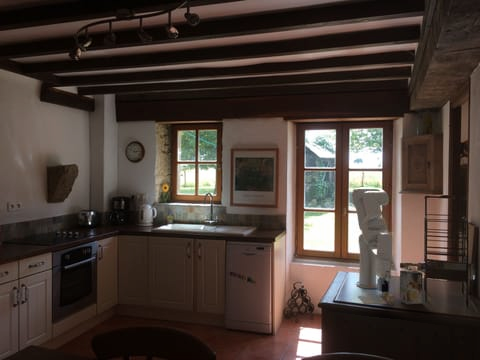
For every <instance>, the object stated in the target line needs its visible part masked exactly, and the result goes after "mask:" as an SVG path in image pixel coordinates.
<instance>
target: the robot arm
mask: <svg viewBox="0 0 480 360" xmlns="http://www.w3.org/2000/svg"><path fill="white" fill-rule="evenodd" d="M351 198H352V200H351V201H352V203H353V206H354V208H355V211H356V214H357V215H356V217H357V221H358V228H359V229H360V231H361V234H359V236H358V245H359V246H358V247H359V271H358V273H359V274H358V275H359V276H358V277H359V278H358V279H359V281H357V282H356V287H359V288H362V289H369V290H373V289H374V290H377V277H378V279H383V284H382V292H388V286H389V281H391V280H390V279H391V278H392V263H391V261H392V259H393V234H392V233H391V232H389V230H388V226H387V225H388V224H387V222H386V219H385V218H384V217H383V211H382V208H381V206H388V204H389V203H390V202H389V201H390V197H389V194H388V193H387V191H385V190H383V189H381V188H380V187H357V188H354V189H353V190H352V192H351ZM374 250H376V253H375V252H374ZM384 280H385V281H384ZM382 292H381V293H382Z"/></svg>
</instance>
